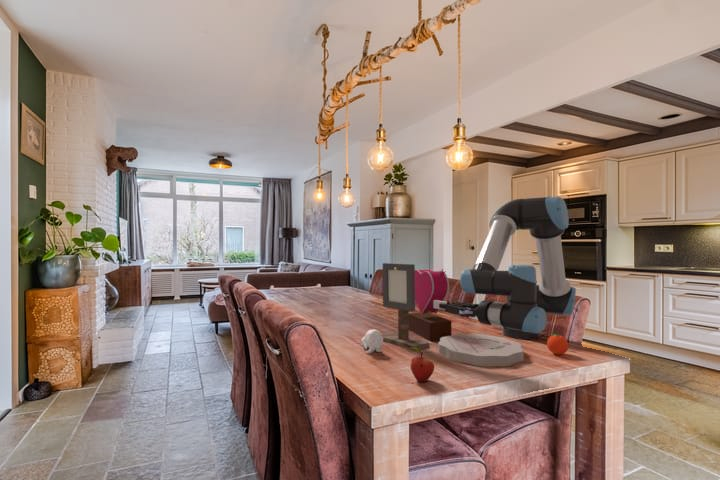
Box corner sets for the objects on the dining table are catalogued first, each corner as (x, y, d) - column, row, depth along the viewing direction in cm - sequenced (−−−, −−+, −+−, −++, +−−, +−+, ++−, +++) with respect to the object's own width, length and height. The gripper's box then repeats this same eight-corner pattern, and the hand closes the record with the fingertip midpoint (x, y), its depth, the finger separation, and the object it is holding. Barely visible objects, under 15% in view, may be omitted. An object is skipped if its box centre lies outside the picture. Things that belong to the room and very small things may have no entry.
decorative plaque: (431, 333, 155) (505, 333, 154) (431, 342, 155) (505, 342, 154) (447, 355, 125) (538, 356, 124) (447, 366, 125) (539, 367, 124)
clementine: (540, 351, 141) (540, 332, 141) (556, 350, 142) (556, 331, 142) (557, 357, 133) (556, 337, 133) (573, 356, 135) (573, 336, 135)
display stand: (429, 346, 147) (429, 265, 148) (415, 350, 142) (415, 266, 142) (389, 335, 164) (389, 263, 165) (376, 338, 159) (376, 264, 159)
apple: (426, 375, 116) (426, 342, 116) (438, 383, 109) (438, 348, 110) (404, 378, 113) (403, 345, 113) (415, 386, 107) (415, 351, 107)
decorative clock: (455, 340, 156) (455, 268, 156) (433, 343, 153) (432, 268, 153) (427, 327, 180) (427, 264, 180) (407, 329, 177) (407, 265, 177)
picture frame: (415, 310, 146) (414, 264, 147) (410, 311, 145) (410, 264, 145) (386, 306, 159) (386, 263, 159) (381, 306, 157) (381, 263, 157)
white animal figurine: (368, 331, 136) (356, 327, 147) (369, 355, 135) (356, 349, 146) (384, 329, 139) (370, 326, 150) (385, 353, 138) (371, 348, 149)
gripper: (481, 328, 115) (422, 316, 134) (504, 322, 124) (446, 312, 142) (481, 303, 116) (422, 295, 134) (504, 299, 124) (446, 292, 142)
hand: (434, 304), depth 138 cm, fingers closed
